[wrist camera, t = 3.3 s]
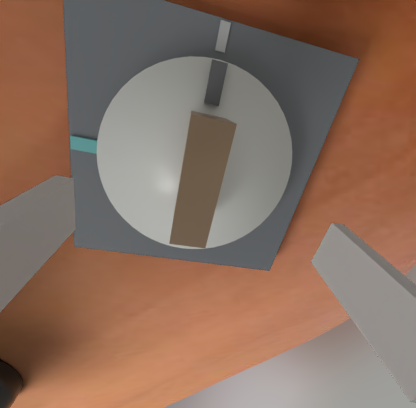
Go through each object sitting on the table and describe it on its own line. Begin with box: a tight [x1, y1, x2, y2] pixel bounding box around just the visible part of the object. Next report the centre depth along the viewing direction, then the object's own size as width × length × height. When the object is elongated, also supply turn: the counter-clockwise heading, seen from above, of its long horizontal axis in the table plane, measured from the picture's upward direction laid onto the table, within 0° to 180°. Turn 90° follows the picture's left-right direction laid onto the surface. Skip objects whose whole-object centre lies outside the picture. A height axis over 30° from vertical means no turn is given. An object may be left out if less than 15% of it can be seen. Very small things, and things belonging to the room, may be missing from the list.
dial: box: [97, 56, 292, 249], centre depth 19 cm, size 18×18×6 cm
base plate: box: [63, 0, 359, 271], centre depth 23 cm, size 24×24×2 cm
